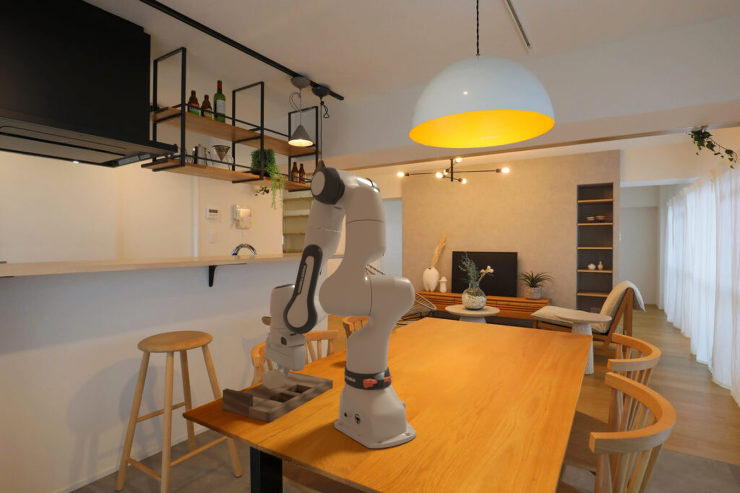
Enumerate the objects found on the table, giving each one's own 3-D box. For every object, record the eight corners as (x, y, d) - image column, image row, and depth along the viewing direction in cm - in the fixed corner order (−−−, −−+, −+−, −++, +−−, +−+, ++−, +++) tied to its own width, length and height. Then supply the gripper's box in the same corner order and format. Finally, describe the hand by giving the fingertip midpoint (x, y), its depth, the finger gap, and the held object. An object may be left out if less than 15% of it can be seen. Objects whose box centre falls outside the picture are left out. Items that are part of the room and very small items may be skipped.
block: (276, 381, 133) (277, 369, 133) (284, 385, 129) (284, 372, 129) (262, 384, 130) (262, 372, 130) (269, 389, 126) (269, 376, 126)
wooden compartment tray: (290, 378, 143) (290, 363, 143) (332, 387, 135) (332, 370, 135) (222, 409, 116) (222, 390, 116) (270, 422, 108) (270, 401, 108)
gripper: (260, 330, 137) (259, 372, 137) (291, 342, 121) (290, 389, 122) (277, 328, 141) (277, 368, 141) (309, 339, 126) (309, 384, 126)
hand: (283, 378), depth 131 cm, fingers closed
